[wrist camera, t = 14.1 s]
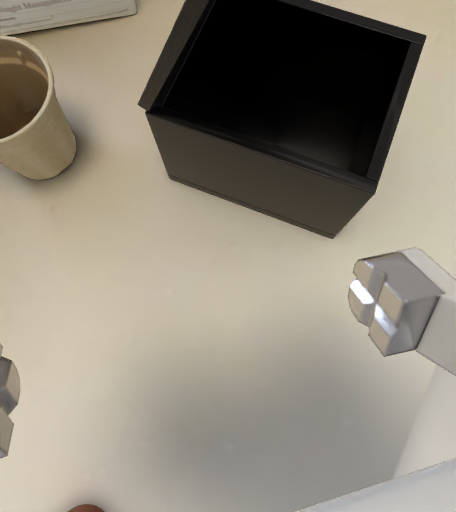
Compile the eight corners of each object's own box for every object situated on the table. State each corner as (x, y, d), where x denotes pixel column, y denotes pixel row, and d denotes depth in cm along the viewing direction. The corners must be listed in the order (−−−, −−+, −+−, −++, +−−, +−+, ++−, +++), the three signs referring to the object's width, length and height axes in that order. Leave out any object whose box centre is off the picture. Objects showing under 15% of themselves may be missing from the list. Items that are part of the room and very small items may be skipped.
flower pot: (75, 92, 36) (28, 16, 28) (109, 171, 34) (70, 114, 26) (-17, 129, 36) (-93, 62, 27) (12, 212, 33) (-61, 167, 25)
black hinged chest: (374, 120, 35) (427, 35, 26) (332, 239, 33) (374, 194, 23) (221, 69, 37) (217, -29, 27) (169, 178, 34) (144, 112, 25)
